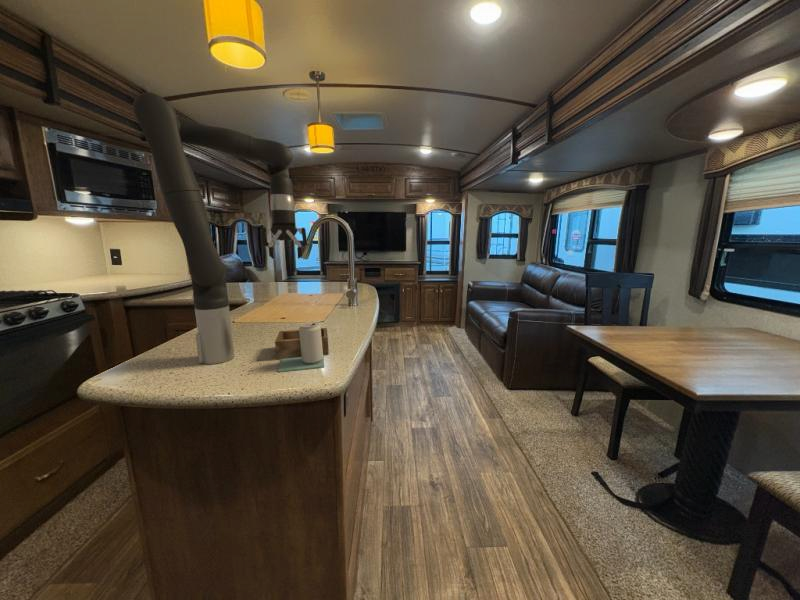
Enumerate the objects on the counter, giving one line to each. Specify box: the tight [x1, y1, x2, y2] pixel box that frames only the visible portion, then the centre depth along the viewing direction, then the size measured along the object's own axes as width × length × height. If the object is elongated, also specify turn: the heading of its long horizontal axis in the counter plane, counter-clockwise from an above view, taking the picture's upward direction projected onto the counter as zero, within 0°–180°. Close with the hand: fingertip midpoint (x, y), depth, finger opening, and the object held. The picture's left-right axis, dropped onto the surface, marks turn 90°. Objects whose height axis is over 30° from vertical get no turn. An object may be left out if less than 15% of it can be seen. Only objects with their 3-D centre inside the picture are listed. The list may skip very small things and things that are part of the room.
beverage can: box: [298, 321, 323, 364], centre depth 95 cm, size 6×6×12 cm
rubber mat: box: [277, 355, 325, 373], centre depth 95 cm, size 13×10×1 cm
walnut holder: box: [274, 327, 330, 360], centre depth 106 cm, size 16×12×6 cm
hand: (286, 258), depth 106 cm, fingers open, 8 cm apart
